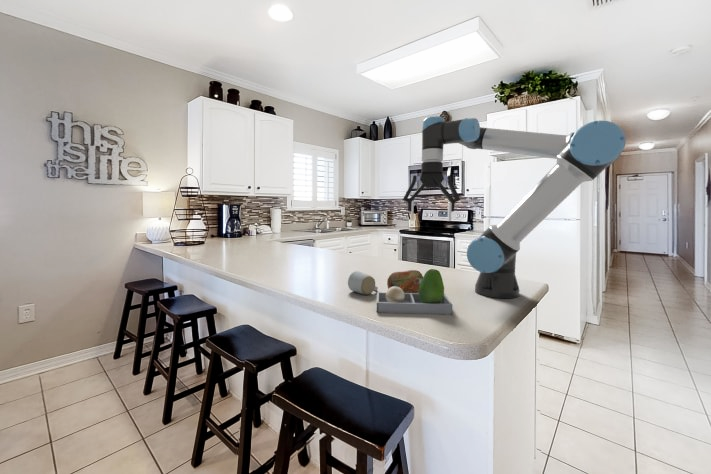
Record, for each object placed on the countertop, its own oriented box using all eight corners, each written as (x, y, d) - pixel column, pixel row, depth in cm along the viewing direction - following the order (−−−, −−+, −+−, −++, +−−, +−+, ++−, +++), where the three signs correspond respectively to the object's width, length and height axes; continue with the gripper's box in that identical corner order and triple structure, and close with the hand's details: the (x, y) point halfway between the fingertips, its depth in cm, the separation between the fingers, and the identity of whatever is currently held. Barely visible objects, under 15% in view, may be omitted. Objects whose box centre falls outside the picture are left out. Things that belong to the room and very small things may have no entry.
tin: (390, 296, 117) (390, 273, 116) (385, 294, 120) (386, 271, 119) (423, 291, 124) (424, 269, 123) (418, 289, 126) (419, 268, 126)
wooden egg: (403, 302, 108) (404, 284, 107) (405, 308, 102) (405, 289, 101) (385, 301, 108) (385, 284, 108) (385, 307, 102) (385, 288, 102)
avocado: (448, 307, 103) (450, 269, 102) (431, 311, 99) (432, 272, 97) (430, 300, 110) (431, 265, 108) (412, 304, 105) (413, 268, 104)
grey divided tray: (444, 302, 110) (444, 294, 109) (452, 314, 98) (452, 304, 98) (376, 300, 111) (377, 292, 111) (376, 312, 100) (376, 302, 99)
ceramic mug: (362, 297, 116) (362, 275, 115) (347, 292, 122) (347, 272, 121) (382, 292, 123) (383, 272, 122) (367, 288, 129) (368, 268, 128)
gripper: (464, 163, 122) (462, 220, 124) (397, 163, 124) (396, 219, 126) (470, 160, 114) (467, 221, 117) (398, 160, 116) (397, 220, 118)
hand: (430, 220), depth 121 cm, fingers open, 13 cm apart
